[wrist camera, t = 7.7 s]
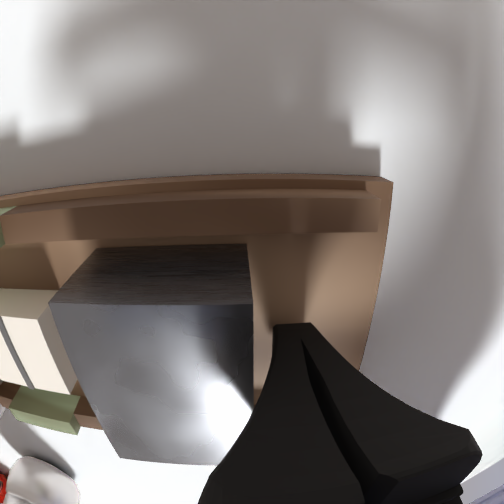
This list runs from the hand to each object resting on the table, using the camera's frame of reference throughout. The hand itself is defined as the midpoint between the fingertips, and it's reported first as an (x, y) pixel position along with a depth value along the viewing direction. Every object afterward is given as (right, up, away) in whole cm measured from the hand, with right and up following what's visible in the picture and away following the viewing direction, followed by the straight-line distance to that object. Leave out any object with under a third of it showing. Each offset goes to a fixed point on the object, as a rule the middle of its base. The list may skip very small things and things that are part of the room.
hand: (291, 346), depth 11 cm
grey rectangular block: (-4, 0, 0) cm, 4 cm away
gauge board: (-7, +1, +1) cm, 7 cm away
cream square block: (-11, 0, 0) cm, 11 cm away
